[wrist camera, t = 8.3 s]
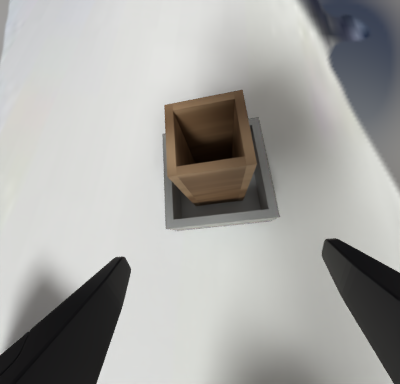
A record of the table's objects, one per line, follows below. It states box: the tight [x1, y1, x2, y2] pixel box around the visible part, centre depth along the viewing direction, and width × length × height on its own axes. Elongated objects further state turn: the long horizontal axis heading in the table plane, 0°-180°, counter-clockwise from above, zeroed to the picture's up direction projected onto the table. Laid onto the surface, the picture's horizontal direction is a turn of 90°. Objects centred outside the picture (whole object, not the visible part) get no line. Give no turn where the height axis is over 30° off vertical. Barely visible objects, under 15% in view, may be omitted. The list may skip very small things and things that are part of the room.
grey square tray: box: [163, 117, 280, 231], centre depth 20 cm, size 11×11×4 cm
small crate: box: [165, 90, 257, 206], centre depth 16 cm, size 6×6×10 cm
